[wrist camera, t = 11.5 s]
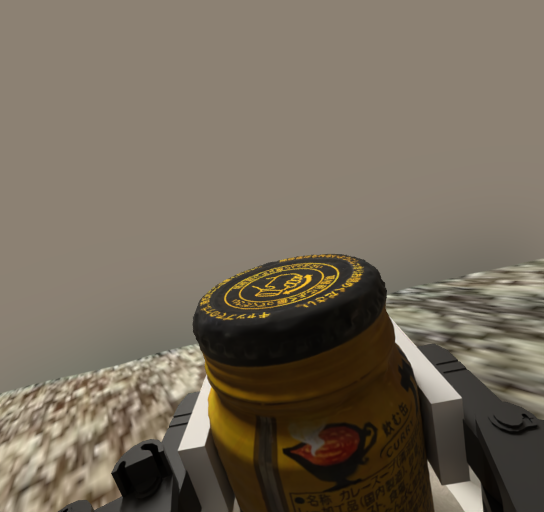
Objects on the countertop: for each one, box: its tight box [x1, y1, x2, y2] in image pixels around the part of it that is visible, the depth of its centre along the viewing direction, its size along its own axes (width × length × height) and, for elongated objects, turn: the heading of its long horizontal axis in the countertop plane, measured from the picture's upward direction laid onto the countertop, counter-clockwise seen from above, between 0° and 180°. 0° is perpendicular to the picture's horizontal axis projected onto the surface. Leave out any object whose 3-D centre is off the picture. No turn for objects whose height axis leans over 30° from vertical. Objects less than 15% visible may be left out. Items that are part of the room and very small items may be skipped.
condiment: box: [193, 254, 465, 512], centre depth 9 cm, size 7×8×12 cm
